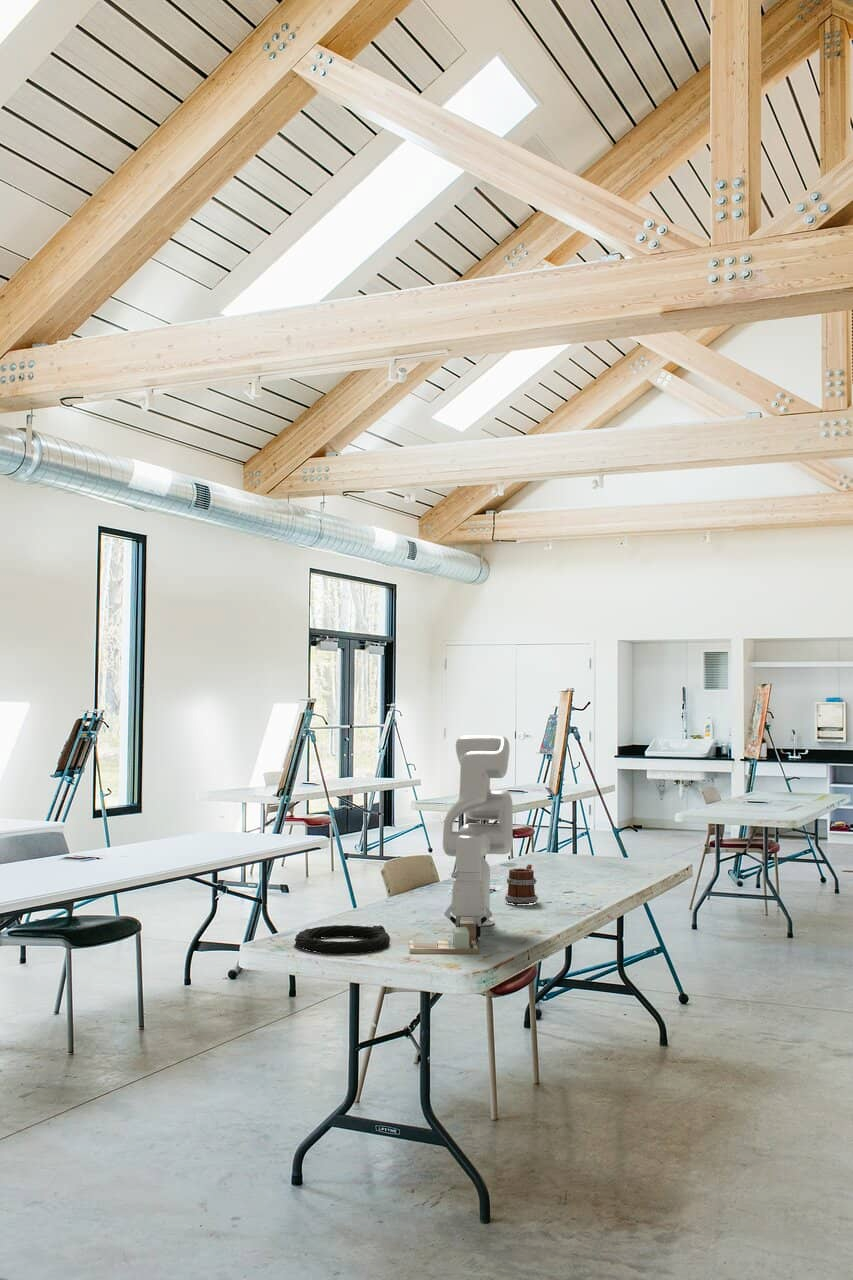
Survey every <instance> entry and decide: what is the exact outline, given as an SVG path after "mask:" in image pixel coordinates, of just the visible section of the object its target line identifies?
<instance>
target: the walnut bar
mask: <svg viewBox="0 0 853 1280" xmlns="http://www.w3.org/2000/svg"><path fill="white" fill-rule="evenodd" d="M460 926H461V927H467V929H468V931H469V944H471V940H475V943H477V940H476V925H475V923H474V921H461V925H460Z"/></svg>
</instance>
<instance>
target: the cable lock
mask: <svg viewBox="0 0 853 1280" xmlns="http://www.w3.org/2000/svg"><path fill="white" fill-rule="evenodd" d="M336 936H353V937H352V938H359V937H363V938H362V939H360V940H355V941H353V940H352V941H350V940H349V941H348V940H347V941H336V940H331V941H330V940H329V941H328V940H320V939H322V938H321V937H329V938H337V937H336ZM314 938H320V939H315V940H314ZM365 938H368V939H365ZM390 940H391V937H390V935H389V933H388V932H386V929H385V927H384V925H373V926H372V927H371V926H368V925H367V926H362V925H351V924H347V925H346V924H345V925H327V926H317V927H313V928H306V929H304V930H302V931H299V932H298V934H296V935H295V938H294V942H295V945H296V946H297V947H298V946H299V947H300V948H299V947H298V948H299V949H302V948H304V949H307V950H310V951H309V952H312V951H316V952H321V953H320V954H327V953H331V954H330V955H346V954H345V953H357V954H362V953H361V952H367V953H370V952H369V951H373V952H376V951H375V950H377V951H380V950H383V949H384V948H386V947H387V946H388V945H389V944H390ZM304 949H303V950H304ZM379 949H380V950H379ZM316 952H315V953H316Z"/></svg>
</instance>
